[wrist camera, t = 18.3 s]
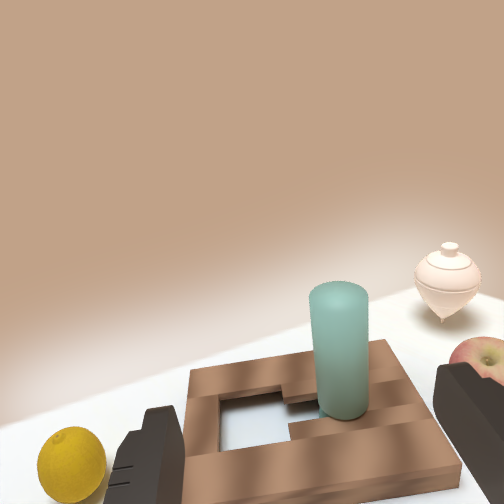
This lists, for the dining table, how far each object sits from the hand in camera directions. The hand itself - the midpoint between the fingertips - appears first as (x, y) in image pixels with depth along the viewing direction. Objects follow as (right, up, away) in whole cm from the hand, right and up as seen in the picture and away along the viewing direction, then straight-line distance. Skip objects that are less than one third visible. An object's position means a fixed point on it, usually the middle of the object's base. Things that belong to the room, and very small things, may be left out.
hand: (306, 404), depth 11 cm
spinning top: (+25, -5, +39) cm, 47 cm away
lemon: (-18, -19, +25) cm, 36 cm away
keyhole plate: (+4, -14, +28) cm, 31 cm away
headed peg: (+8, -13, +28) cm, 32 cm away
